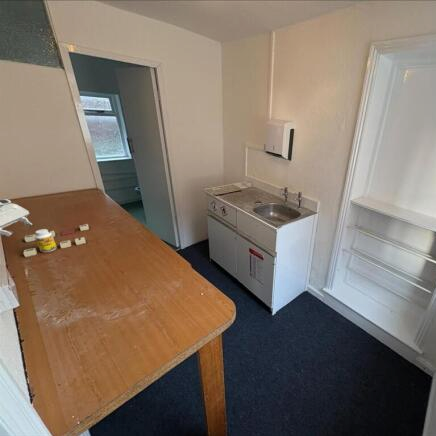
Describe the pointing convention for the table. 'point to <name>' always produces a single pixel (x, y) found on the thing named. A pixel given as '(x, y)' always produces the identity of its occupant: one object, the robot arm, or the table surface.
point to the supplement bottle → (45, 240)
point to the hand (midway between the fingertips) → (21, 230)
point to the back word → (32, 237)
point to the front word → (63, 245)
